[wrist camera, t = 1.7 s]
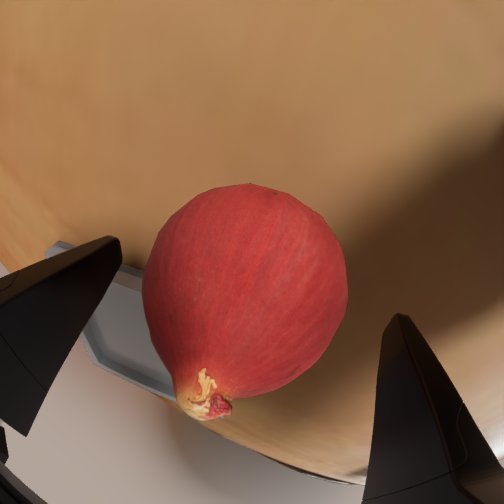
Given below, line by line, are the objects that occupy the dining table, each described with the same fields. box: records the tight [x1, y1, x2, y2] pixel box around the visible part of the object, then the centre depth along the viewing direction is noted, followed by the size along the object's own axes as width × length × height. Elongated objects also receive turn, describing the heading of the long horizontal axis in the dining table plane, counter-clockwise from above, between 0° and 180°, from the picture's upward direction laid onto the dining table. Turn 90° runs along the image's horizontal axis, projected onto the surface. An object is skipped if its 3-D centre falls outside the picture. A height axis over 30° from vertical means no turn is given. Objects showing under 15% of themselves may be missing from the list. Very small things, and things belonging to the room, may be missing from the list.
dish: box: [45, 241, 225, 419], centre depth 18 cm, size 13×13×2 cm
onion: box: [142, 183, 348, 421], centre depth 8 cm, size 6×6×8 cm
